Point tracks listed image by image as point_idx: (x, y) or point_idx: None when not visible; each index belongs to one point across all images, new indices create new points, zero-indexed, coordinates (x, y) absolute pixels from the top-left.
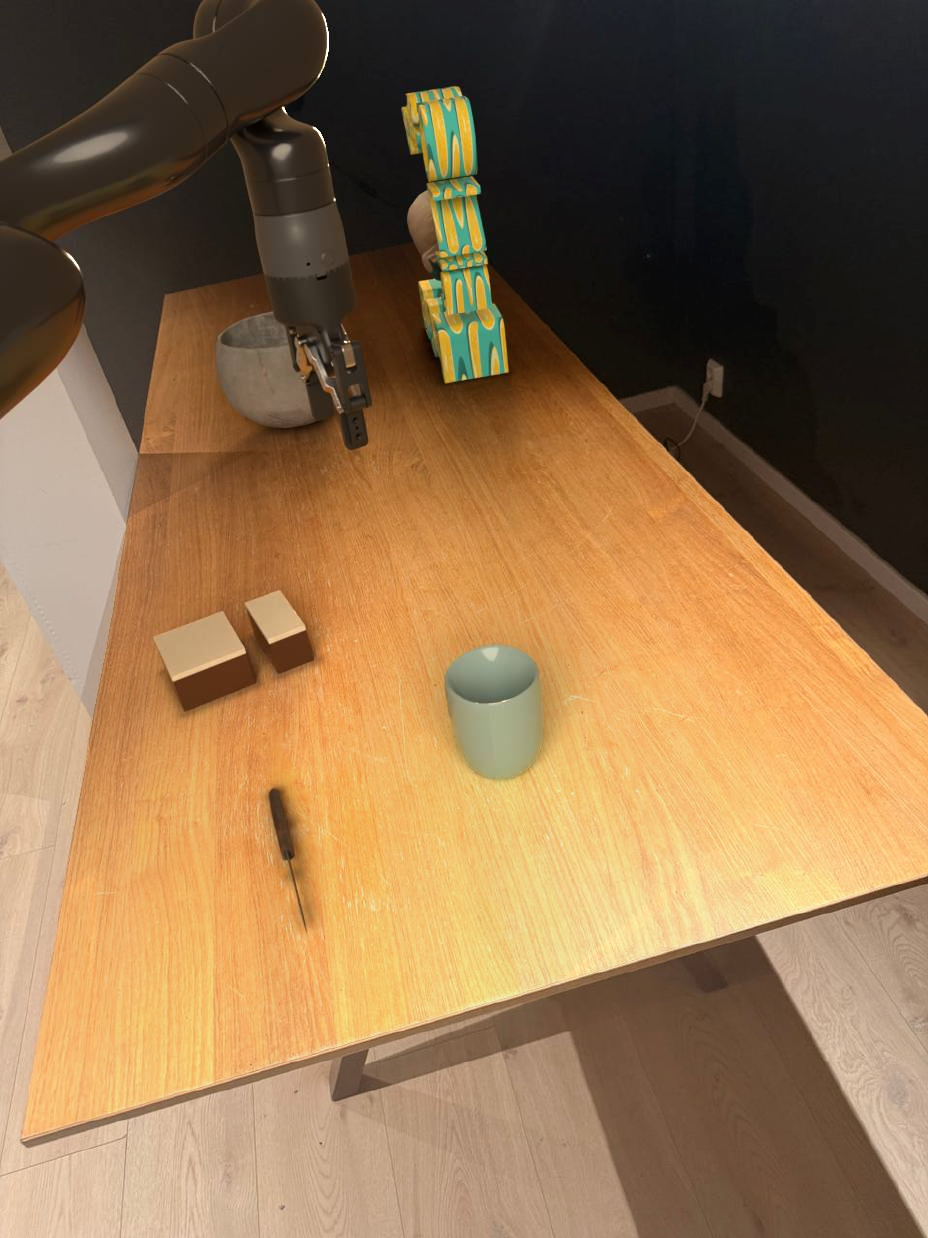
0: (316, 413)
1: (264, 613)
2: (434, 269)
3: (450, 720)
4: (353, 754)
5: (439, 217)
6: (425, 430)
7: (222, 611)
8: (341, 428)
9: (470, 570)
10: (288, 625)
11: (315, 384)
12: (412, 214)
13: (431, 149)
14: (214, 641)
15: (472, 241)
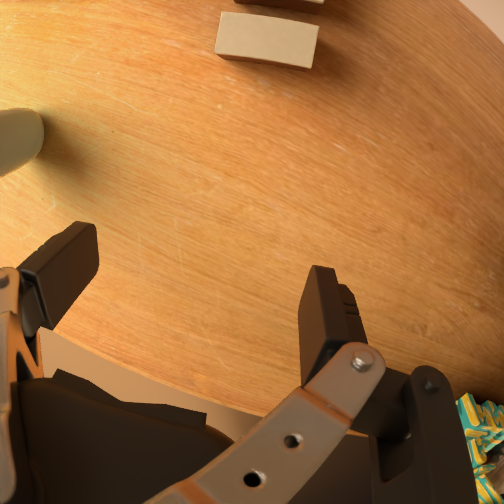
0: (312, 279)
1: (276, 30)
2: (500, 450)
3: (7, 110)
4: (90, 42)
5: (491, 493)
6: (447, 358)
7: (322, 1)
8: (59, 246)
9: (238, 256)
10: (229, 38)
11: (315, 359)
12: None
13: None
14: None
15: None
